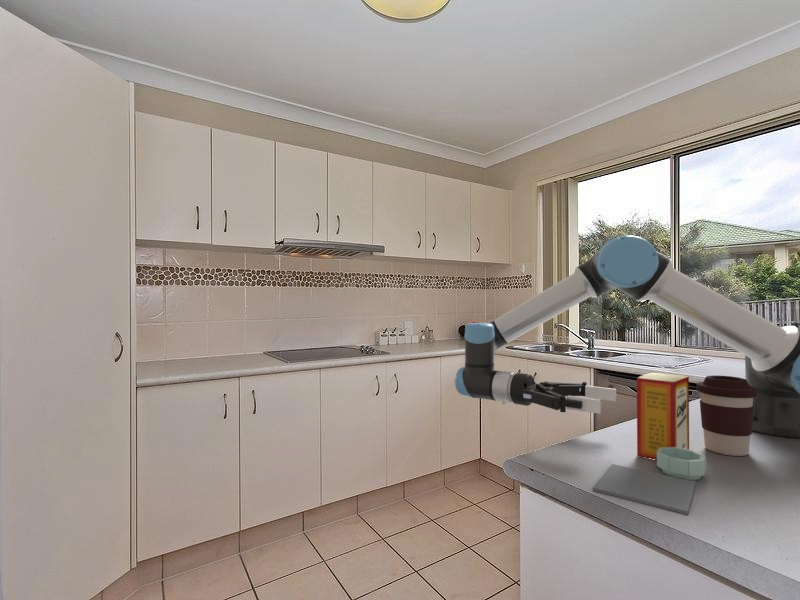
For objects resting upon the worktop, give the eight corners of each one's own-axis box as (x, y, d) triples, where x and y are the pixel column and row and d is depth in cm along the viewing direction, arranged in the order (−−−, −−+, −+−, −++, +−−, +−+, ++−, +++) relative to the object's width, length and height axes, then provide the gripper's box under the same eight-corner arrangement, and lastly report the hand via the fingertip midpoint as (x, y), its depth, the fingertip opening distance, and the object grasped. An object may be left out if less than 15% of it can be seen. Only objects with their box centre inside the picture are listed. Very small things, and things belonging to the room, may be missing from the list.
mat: (695, 484, 73) (695, 481, 73) (688, 514, 63) (687, 511, 63) (611, 466, 81) (611, 463, 81) (592, 490, 71) (592, 487, 71)
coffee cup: (699, 439, 96) (699, 372, 96) (757, 449, 90) (756, 377, 90) (694, 452, 88) (694, 378, 88) (757, 463, 82) (757, 384, 82)
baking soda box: (653, 445, 92) (653, 370, 93) (689, 453, 88) (688, 374, 88) (637, 456, 86) (636, 376, 86) (674, 465, 81) (674, 380, 81)
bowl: (706, 472, 78) (706, 452, 78) (703, 485, 72) (703, 464, 72) (661, 463, 82) (660, 444, 82) (654, 474, 77) (654, 455, 77)
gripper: (534, 394, 116) (621, 406, 102) (491, 413, 96) (592, 432, 83) (534, 366, 116) (621, 375, 102) (491, 380, 96) (592, 393, 83)
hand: (608, 400), depth 93 cm, fingers open, 13 cm apart
